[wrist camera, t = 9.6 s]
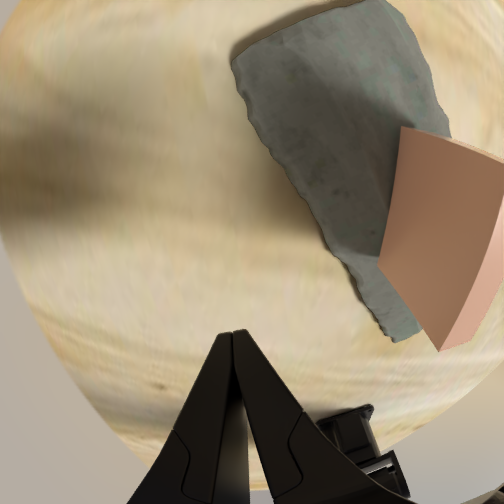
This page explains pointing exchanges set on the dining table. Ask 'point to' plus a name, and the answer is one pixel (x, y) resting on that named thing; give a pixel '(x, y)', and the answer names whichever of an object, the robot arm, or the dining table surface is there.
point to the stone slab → (344, 128)
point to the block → (445, 234)
